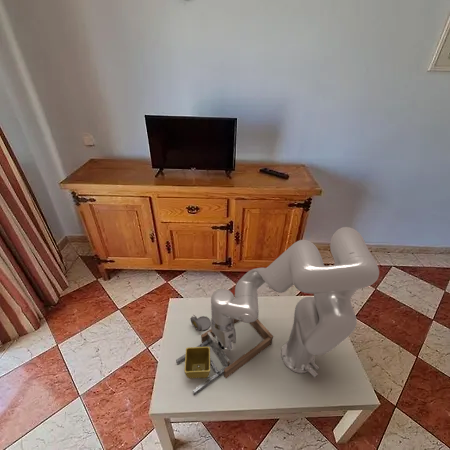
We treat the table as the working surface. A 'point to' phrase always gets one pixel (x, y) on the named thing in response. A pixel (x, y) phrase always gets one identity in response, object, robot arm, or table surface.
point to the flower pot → (197, 362)
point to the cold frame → (250, 354)
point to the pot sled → (220, 355)
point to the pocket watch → (200, 323)
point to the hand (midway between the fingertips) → (222, 347)
